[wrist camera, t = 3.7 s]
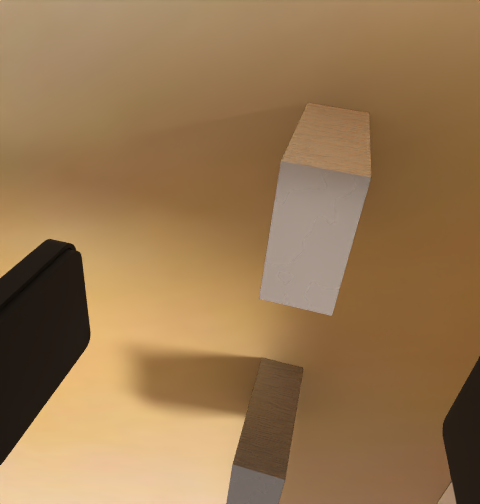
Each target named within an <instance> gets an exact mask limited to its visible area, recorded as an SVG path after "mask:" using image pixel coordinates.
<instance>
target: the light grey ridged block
mask: <svg viewBox="0 0 480 504" xmlns="http://www.w3.org/2000/svg"><path fill="white" fill-rule="evenodd" d="M370 180H371V155H370V122H369V113H368V112H362V111H356V110H349V109H343V108H337V107H331V106H325V105H319V104H312V103H308V104H307V106H306V108H305V110H304V112H303V114H302V117H301V119H300V121H299V123H298V125H297V127H296V130H295V132H294V134H293V136H292V138H291V140H290V142H289V145H288V147H287V149H286V151H285V153H284V155H283V158H282V160H281V164H280V170H279V176H278V183H277V189H276V195H275V202H274V208H273V214H272V221H271V227H270V233H269V240H268V246H267V252H266V259H265V265H264V271H263V278H262V284H261V290H260V296H259V299H261V300H266V301H270V302H274V303H279V304H283V305H287V306H291V307H296V308H300V309H304V310H309V311H313V312H317V313H322V314H326V315H330V316H332V314H333V310H334V307H335V303H336V300H337V296H338V293H339V289H340V286H341V282H342V279H343V275H344V272H345V268H346V265H347V261H348V257H349V254H350V250H351V247H352V243H353V240H354V236H355V233H356V229H357V226H358V222H359V219H360V215H361V212H362V208H363V205H364V201H365V198H366V194H367V191H368V187H369V183H370Z"/></svg>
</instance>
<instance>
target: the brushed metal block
mask: <svg viewBox="0 0 480 504" xmlns="http://www.w3.org/2000/svg"><path fill="white" fill-rule="evenodd" d="M302 373H303V368H301V367H297V366H293V365H289V364H285V363H281V362H277V361H273V360H269V359H266V358H262V360H261V363H260V367H259V370H258V374H257V378H256V381H255V385H254V389H253V392H252V396H251V400H250V403H249V407H248V410H247V414H246V418H245V421H244V425H243V429H242V432H241V436H240V440H239V443H238V447H237V450H236V454H235V458H234V461H233V465H232V472H231V478H230V484H229V491H228V497H227V503H226V504H278V503H279V500H280V496H281V493H282V489H283V486H284V482H285V478H286V471H287V465H288V459H289V453H290V447H291V441H292V434H293V428H294V422H295V416H296V410H297V403H298V397H299V391H300V385H301V379H302Z"/></svg>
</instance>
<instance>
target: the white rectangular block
mask: <svg viewBox="0 0 480 504" xmlns="http://www.w3.org/2000/svg"><path fill="white" fill-rule="evenodd" d="M437 504H456V500H455V495H454V490H453V485H452V482H451V483H450V485H449V486H448V488H447V489H446V491H445V492H444V494H443V495H442V497H441V498H440V500H439V501H438V503H437Z"/></svg>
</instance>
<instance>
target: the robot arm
mask: <svg viewBox="0 0 480 504" xmlns="http://www.w3.org/2000/svg"><path fill="white" fill-rule="evenodd" d="M89 340H90V325H89V316H88V308H87V299H86V290H85V282H84V273H83V265H82V257H81V254H80V252H78V251H76V248H75V246H74V245H73V244H70V243H66V242H61V241H56V240H52V239H48V240H46V241H44V242H43V243H42V244H41V245H39V246H38V247H37V248H36V249H35V250H33V251H32V252H31V253H30V254H29V255H27V256H26V257H25V258H24V259H23V260H22V261H20V262H19V263H18V264H17V265H16V266H14V267H13V268H12V269H11V270H10V271H8V272H7V273H6V274H5V275H4V276H2V277H1V278H0V465H1V464H2V463H3V462H4V460H5V459H6V458H7V456H8V455H9V453H10V452H11V451H12V449H13V448H14V447H15V445H16V444H17V442H18V441H19V440H20V438H21V437H22V436H23V434H24V433H25V431H26V430H27V429H28V427H29V426H30V425H31V423H32V422H33V421H34V419H35V418H36V416H37V415H38V414H39V412H40V411H41V410H42V408H43V407H44V405H45V404H46V403H47V401H48V400H49V399H50V397H51V396H52V394H53V393H54V392H55V390H56V389H57V388H58V386H59V385H60V383H61V382H62V381H63V379H64V378H65V377H66V375H67V374H68V372H69V371H70V370H71V368H72V367H73V366H74V364H75V363H76V361H77V360H78V359H79V357H80V356H81V355H82V353H83V352H84V350H85V349H86V347H87V346H88V343H89ZM443 439H444V444H445V449H446V454H447V459H448V464H449V469H450V474H451V479H452V485H453V490H454V495H455V500H456V504H480V357H479V359H478V361H477V363H476V364H475V366H474V368H473V370H472V371H471V373H470V375H469V377H468V379H467V380H466V382H465V384H464V386H463V387H462V389H461V391H460V393H459V395H458V396H457V398H456V400H455V402H454V403H453V405H452V407H451V409H450V411H449V412H448V414H447V416H446V418H445V420H444V423H443Z"/></svg>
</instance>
